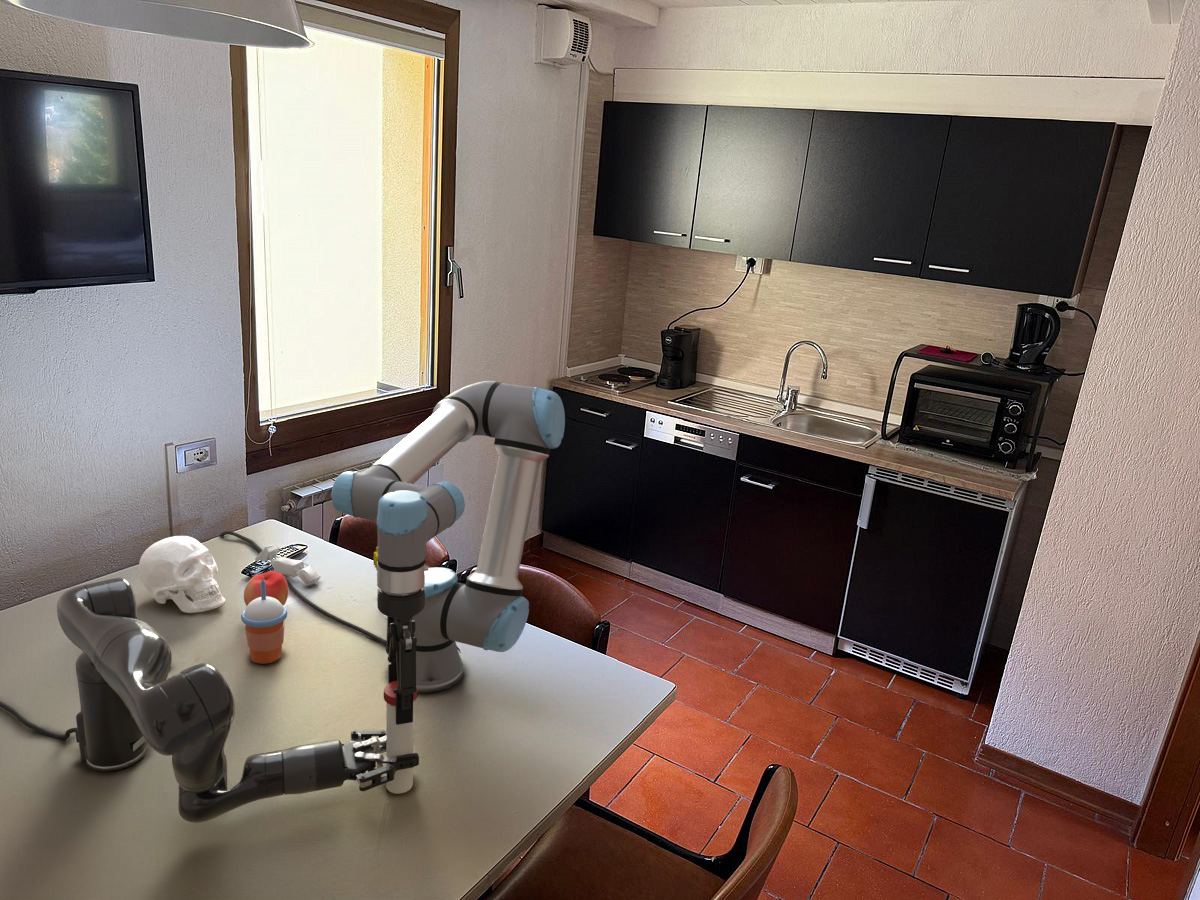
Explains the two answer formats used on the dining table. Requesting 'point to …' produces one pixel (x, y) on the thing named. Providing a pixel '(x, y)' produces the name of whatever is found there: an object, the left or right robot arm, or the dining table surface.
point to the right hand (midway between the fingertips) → (400, 709)
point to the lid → (391, 696)
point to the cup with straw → (264, 627)
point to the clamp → (288, 565)
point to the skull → (181, 574)
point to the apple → (267, 587)
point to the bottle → (399, 749)
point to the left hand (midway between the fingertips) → (415, 749)
